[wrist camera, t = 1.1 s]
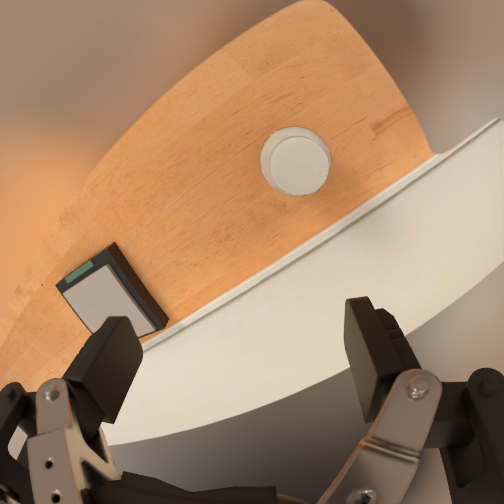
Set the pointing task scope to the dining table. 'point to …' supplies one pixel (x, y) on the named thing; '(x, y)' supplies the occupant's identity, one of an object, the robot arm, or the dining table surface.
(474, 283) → the dining table surface
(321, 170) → the supplement bottle
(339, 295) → the dining table surface
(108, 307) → the scale
